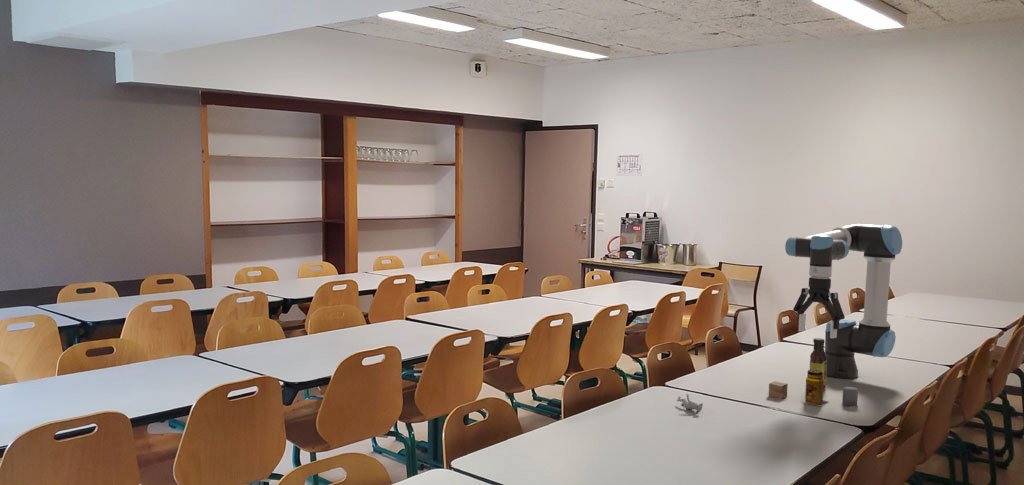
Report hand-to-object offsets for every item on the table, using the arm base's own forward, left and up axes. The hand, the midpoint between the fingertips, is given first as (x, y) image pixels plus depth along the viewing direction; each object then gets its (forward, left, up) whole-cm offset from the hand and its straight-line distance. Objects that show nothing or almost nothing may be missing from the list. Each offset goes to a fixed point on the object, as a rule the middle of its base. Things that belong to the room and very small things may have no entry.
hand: (817, 334), depth 270 cm
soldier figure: (+47, -16, -26) cm, 56 cm away
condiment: (0, 0, -26) cm, 26 cm away
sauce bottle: (-17, -12, -26) cm, 33 cm away
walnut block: (+6, -12, -26) cm, 29 cm away
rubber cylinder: (-9, +8, -26) cm, 29 cm away
